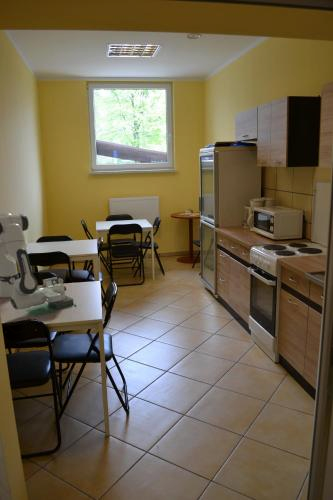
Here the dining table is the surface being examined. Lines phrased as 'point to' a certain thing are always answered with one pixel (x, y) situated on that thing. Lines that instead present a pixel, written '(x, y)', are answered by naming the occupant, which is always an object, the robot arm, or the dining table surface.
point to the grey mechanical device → (51, 283)
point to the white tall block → (60, 289)
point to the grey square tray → (62, 303)
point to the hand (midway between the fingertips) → (61, 291)
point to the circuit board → (44, 310)
